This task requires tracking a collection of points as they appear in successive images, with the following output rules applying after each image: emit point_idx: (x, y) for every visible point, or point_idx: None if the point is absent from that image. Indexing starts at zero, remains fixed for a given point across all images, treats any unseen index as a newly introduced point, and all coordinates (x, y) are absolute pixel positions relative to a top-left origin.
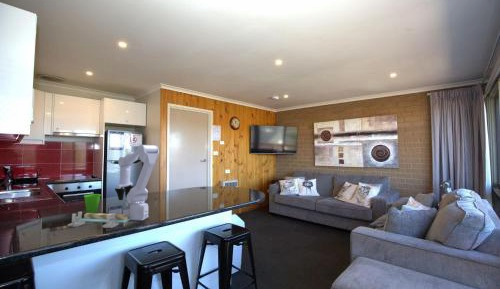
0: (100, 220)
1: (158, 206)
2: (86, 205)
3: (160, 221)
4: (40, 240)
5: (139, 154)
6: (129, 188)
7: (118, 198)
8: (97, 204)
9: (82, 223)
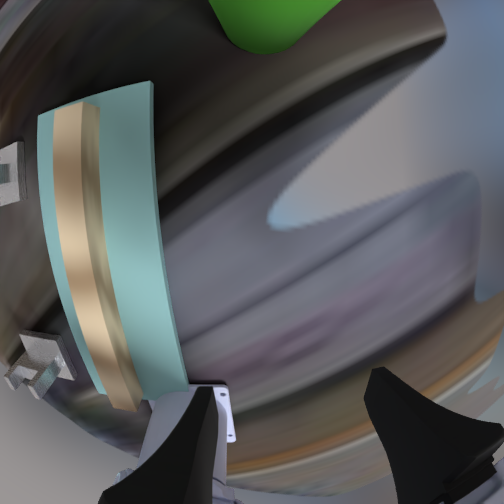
0: (59, 268)
1: (460, 360)
2: None
3: None
4: None
5: None
6: (410, 489)
7: (191, 400)
8: (274, 27)
9: (8, 203)
